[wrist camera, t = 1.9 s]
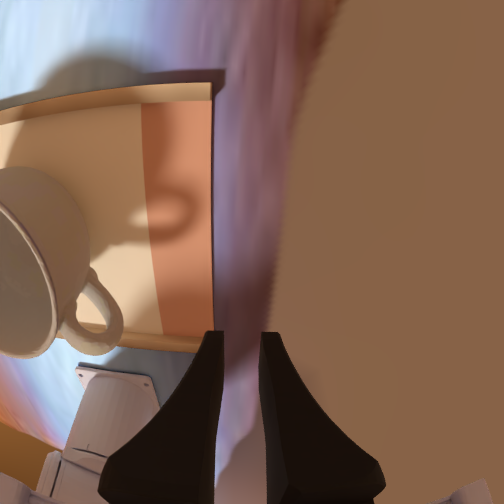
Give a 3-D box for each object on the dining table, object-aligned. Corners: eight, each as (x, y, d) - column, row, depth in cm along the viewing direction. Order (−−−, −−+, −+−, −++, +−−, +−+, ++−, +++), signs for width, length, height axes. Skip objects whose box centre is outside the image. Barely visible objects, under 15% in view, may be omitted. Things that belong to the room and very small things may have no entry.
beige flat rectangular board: (214, 344, 25) (213, 353, 24) (-56, 306, 24) (-60, 311, 23) (212, 82, 16) (210, 82, 15) (-103, 149, 15) (-109, 152, 14)
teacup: (-21, 229, 19) (-80, 283, 12) (22, 117, 16) (-65, 149, 9) (102, 330, 24) (70, 408, 17) (177, 245, 21) (147, 332, 14)
